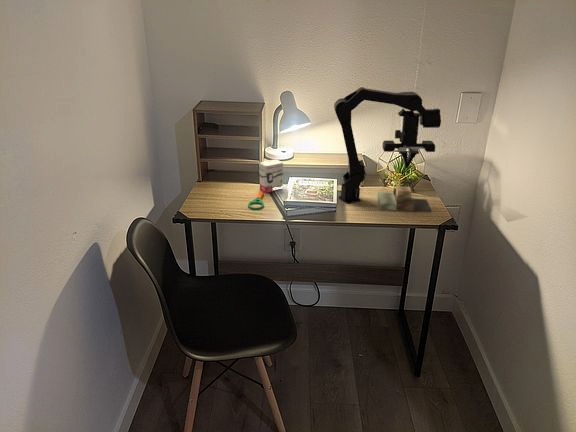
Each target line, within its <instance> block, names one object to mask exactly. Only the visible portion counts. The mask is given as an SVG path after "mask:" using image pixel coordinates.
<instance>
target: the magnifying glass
mask: <svg viewBox="0 0 576 432" xmlns="http://www.w3.org/2000/svg"><path fill="white" fill-rule="evenodd" d="M264 194H265V193H264V192H263V191H259V192H258V194H257V197H256V198H254V199H253V200H251V201H249V202H248V203H247V208H248V209H250V210H254V211H258V210H263V209H264V207H265V203H264V202H263V200H262V199H263V197H264ZM251 205H252V206H251ZM253 205H260V206H259V207H257V206H256V207H254V206H253Z"/></svg>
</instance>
